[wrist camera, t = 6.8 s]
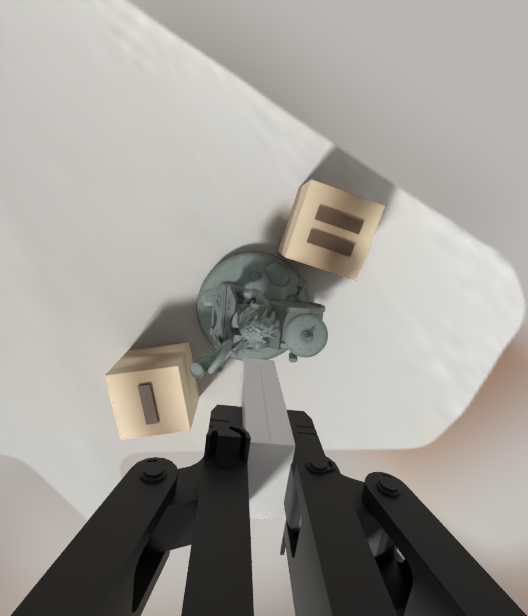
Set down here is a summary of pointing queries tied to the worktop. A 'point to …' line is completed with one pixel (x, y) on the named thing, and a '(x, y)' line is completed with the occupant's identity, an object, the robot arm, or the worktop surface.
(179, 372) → the marked cube
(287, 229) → the marked cube
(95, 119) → the worktop surface
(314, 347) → the figurine
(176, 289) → the worktop surface
